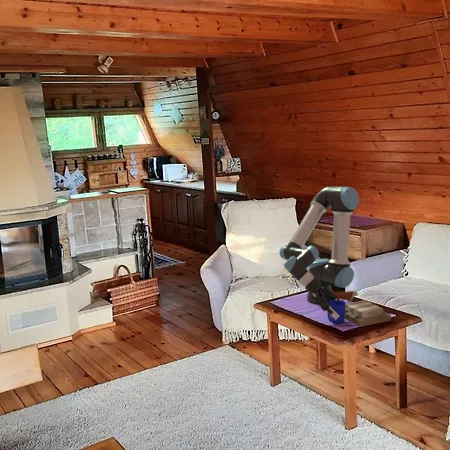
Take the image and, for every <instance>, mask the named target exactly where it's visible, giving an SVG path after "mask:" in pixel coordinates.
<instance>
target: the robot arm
mask: <svg viewBox="0 0 450 450" xmlns="http://www.w3.org/2000/svg"><path fill="white" fill-rule="evenodd" d="M359 203H360V197H359V193H358V191H356V189H355V188H353V187H349V186H337V185H336V186H334V185H329V186H326V187H324V188H322V189H321V190H320V191H318V193H316V195H315V196H314V197H313V199H312V200H311V201H310V207H309V209H308V210H307V212H306V213H305V215H304V217H303V219H302V220H301V222H300V224H299V226H298V227H297V228H296V230H295V232H294V233H293V235H292V237H291V238H290V241H289V242H288V244H287V245H283V246H281V247H280V249H279V256H280V258H281V259H282V260H285V263H283V267H284V268H285V270H286V271H287V272H288V273H289V274H290V275H291V276H292V277H293V278H294V279H295V280H297V282H298V284H299V285H301V286H302V287H304V289H305V290H306V291H307V294H306V301H307V302H309V303H312V304H318V305H319V307H320V308H321V310H322V311H323V312H325V311H326V312H328V313H329V314H330V315H331V316H332V317H333V318H334V319H335V320H336V319H337V318H338V317H339V315H338V314H337V313H336V312H335V311H334V310H333V309H332V308H331V307H329V302H330V301H333V300H337V299H336V298H337V296H336V295H334V292H333V289H332V287H331V286H333V287H336V288H342V289H343V288H347V287H349V286H350V285H351V284H352V282H353V280H354V277H355V271H354V269H353V268H352V267H351V262H350V261H349V259H348V258H349V257H348V256H349V255H348V253H349V241H350V226H351V225H350V224H351V215H353V214H354V210H355V209H356V208H357V207H358V205H359ZM330 208H331V213H333V225H332V226H333V227H332V242H331V243H332V244H331V258H330V259H329V258H319V255H320V252H319V250H318V248H316V247H315V246H314V245H308V247H306V248H303V247H304V245H305V244H306V243H307V240H308V239H309V238H310V235H311V234H312V232H313V230H314V229H315V227H316V226H317V224H318V223H319V220H320V219H321V217H322V215H323V214H324V213H326V212H327V211H328V209H330ZM318 258H319V259H318Z"/></svg>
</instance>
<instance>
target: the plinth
mask: <svg viewBox="0 0 450 450" xmlns="http://www.w3.org/2000/svg"><path fill="white" fill-rule="evenodd" d="M391 315H392V314H391V313H388V312H387V311H385V310H384V308H382V307H380V306H379V305H376V304H374V303H371V302H370V301H367V300H365V299H363V300H359V301H354V302H353V301H352V303H350V302H349V303H348V302H347V303H346V305H345V320H347V321H349V322H350V323H352V324H354V325H356V326H358V327H360V328H362V327H366V326H371V325H375V324H380V323H385V322H389V321H392V317H391Z"/></svg>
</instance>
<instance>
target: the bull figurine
mask: <svg viewBox="0 0 450 450" xmlns="http://www.w3.org/2000/svg"><path fill="white" fill-rule="evenodd" d="M333 294H334V295H336V296H337V298H336V299H337V300H342V301H345V300H347V304H348V303H353V301H352V300H353V299H354V298H355V297H357V296H359V293H358V291H357V290H356V289H352V290H351V289H350V290H346V291H334V292H333Z"/></svg>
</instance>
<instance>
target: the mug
mask: <svg viewBox="0 0 450 450" xmlns="http://www.w3.org/2000/svg"><path fill="white" fill-rule="evenodd" d="M346 304H347V303H346V301H345V300H343V301H342V299H340V300H333V301H330V302H329V303H328V306H329V307H331V308H332V309H333V310H334V311H335V312H336V313H337V314H338V315H339V317H338V318H337V319H336V320H335V319H334V318H333V317H332V316H331V315H330V314H329V313H328V312H327V311H326V312H327V319H328V321H329V322H330V323H331V322H332V323H333V324H342V323H344V322H345V320H346V319H345V305H346Z"/></svg>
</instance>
